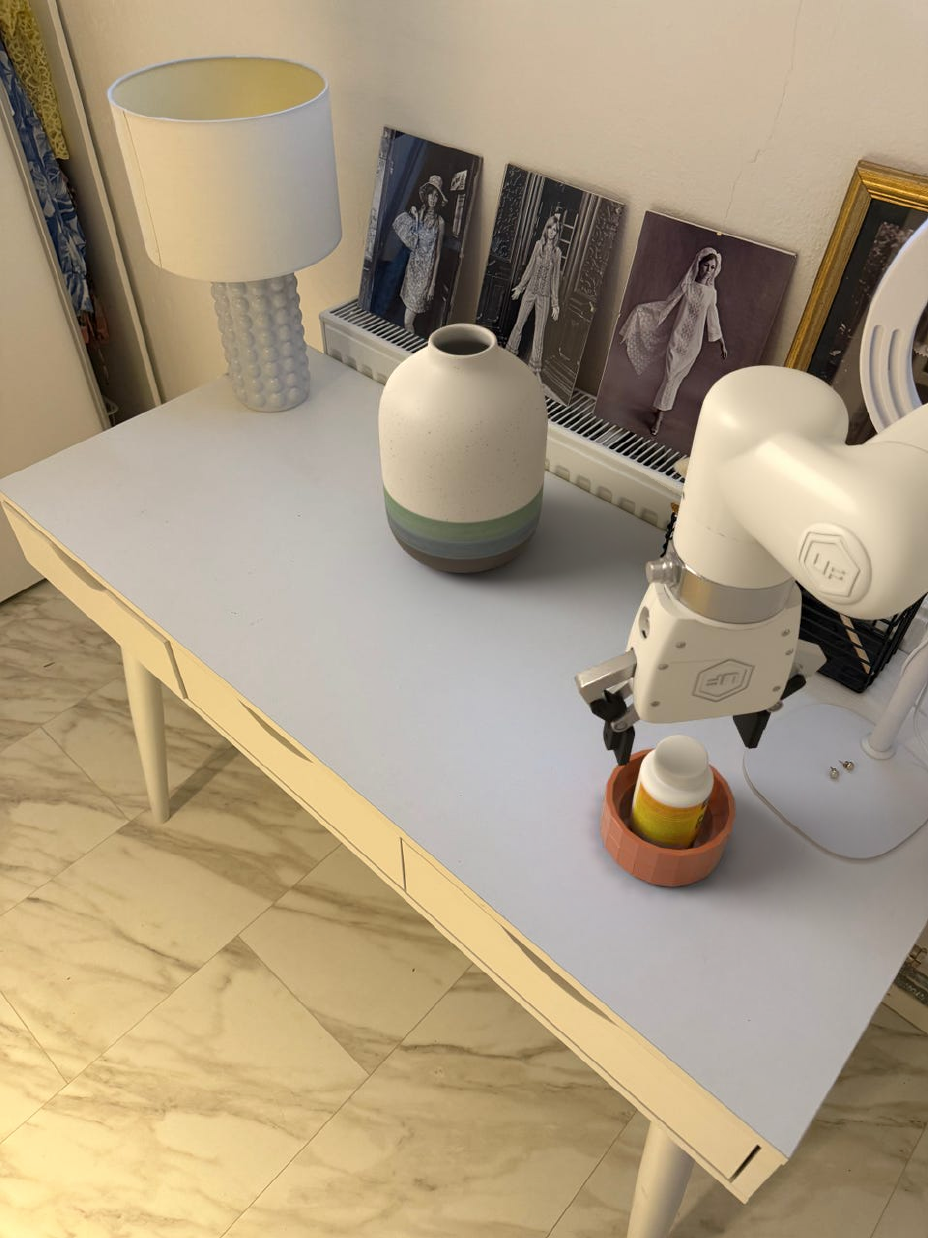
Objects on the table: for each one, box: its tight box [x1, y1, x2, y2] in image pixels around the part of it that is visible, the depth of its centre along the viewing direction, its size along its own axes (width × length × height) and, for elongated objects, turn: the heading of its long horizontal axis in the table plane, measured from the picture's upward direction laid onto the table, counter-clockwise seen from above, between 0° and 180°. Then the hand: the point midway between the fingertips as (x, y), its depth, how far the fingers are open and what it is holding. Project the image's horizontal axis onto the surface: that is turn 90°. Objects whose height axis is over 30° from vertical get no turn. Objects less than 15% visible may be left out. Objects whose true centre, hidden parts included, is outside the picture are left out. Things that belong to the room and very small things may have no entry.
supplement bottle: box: [629, 734, 714, 850], centre depth 73 cm, size 6×6×10 cm
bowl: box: [599, 747, 737, 888], centre depth 75 cm, size 10×10×5 cm
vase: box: [377, 323, 549, 574], centre depth 95 cm, size 17×17×24 cm
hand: (681, 741), depth 68 cm, fingers open, 9 cm apart
